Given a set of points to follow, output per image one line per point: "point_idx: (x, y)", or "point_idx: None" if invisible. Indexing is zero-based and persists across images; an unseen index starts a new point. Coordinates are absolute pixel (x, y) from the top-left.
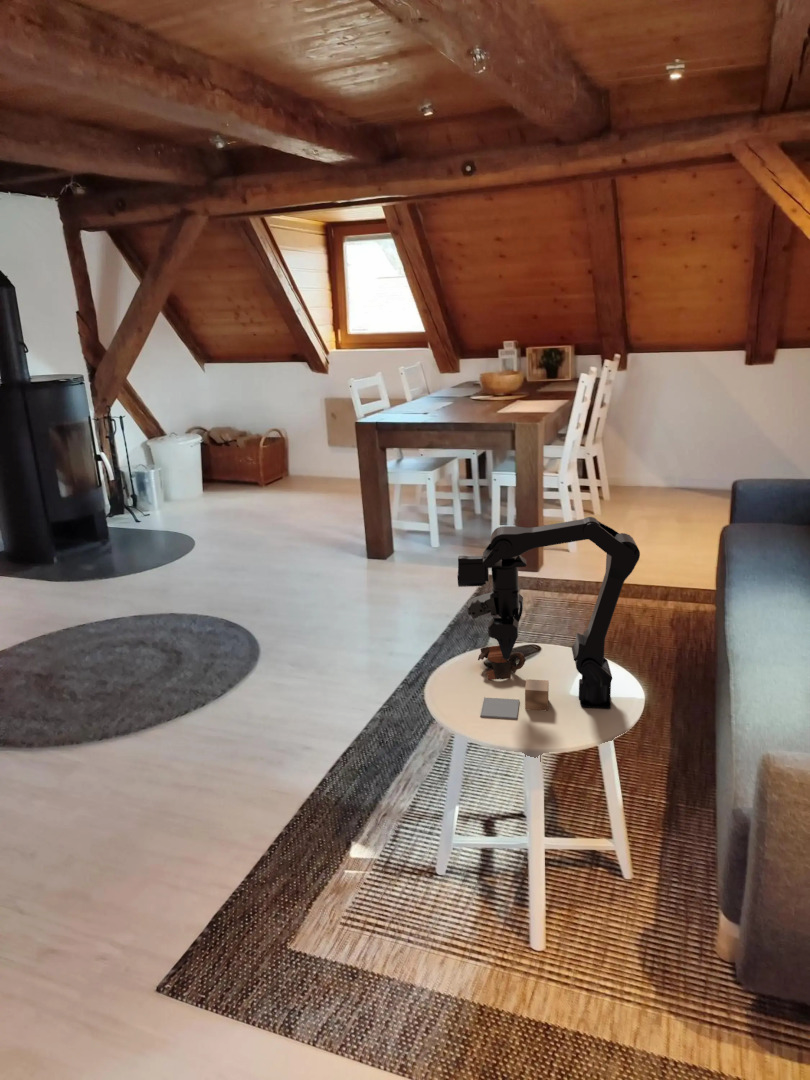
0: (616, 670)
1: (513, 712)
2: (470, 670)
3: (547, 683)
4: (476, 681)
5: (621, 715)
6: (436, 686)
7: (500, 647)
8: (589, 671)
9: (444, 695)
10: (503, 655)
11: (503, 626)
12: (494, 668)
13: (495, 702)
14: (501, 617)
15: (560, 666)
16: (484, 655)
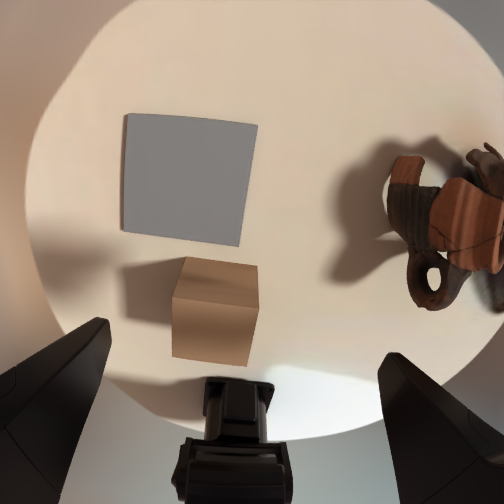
0: (360, 426)
1: (153, 222)
2: (461, 109)
3: (225, 362)
4: (392, 112)
5: (183, 418)
6: None
7: (14, 369)
8: (175, 472)
9: None
10: (75, 334)
11: None
12: (416, 190)
13: (218, 165)
14: (499, 469)
15: (415, 352)
16: (478, 168)
